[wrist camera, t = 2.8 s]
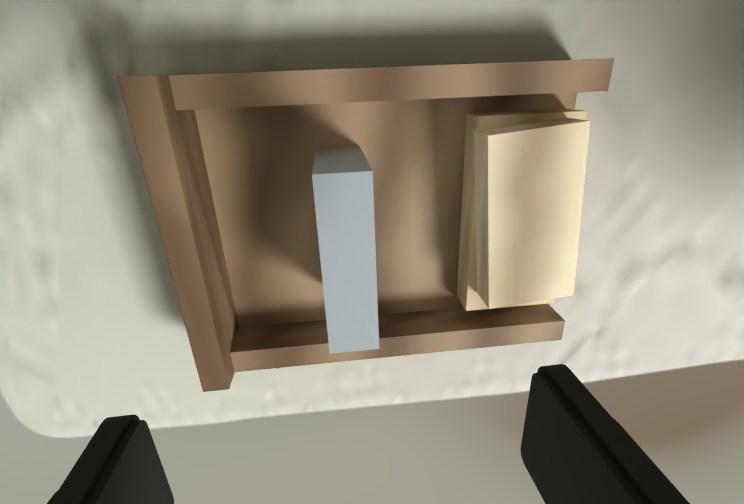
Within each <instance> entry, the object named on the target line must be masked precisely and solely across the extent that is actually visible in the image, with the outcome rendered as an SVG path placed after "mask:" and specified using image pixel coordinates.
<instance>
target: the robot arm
mask: <svg viewBox="0 0 744 504" xmlns="http://www.w3.org/2000/svg"><path fill="white" fill-rule="evenodd" d="M521 455H522V459H523V462H524V464H525V466H526V468H527V470H528V472H529V474H530V476H531V477H532V479H533V481H534V483H535V485H536V486H537V489H538V490H539V492H540V494H541V496H542V498H543V500H544V502H545V503H546V504H690V503H689V502H688V501H687V500H686V499H685V498H684V497H683V496H682V494H681V493H680V492H679V491H678V490H677V489H676V488H675V486H674V485H673V484H672V483H671V482H670V481H669V480H668V479H667V477H666V476H665V475H664V474H663V473H662V472H661V471H660V469H658V467H657V466H656V465H655V464H654V463H653V462H652V460H651V459H650V458H649V457H648V456H647V455H646V454H645V453H644V451H643V450H642V449H641V448H640V447H639V446H638V445H637V443H636V442H635V441H634V440H633V439H632V438H631V437H630V436H629V434H628V433H627V432H626V431H625V430H624V429H623V428H622V426H620V424H619V423H618V422H617V421H616V420H615V419H614V418H612V417H611V416H610V415H609V414H608V412H607V411H606V410H605V409H604V408H603V407H602V406H601V404H600V403H599V402H598V401H597V400H596V399H595V398H594V397H593V396H592V394H591V393H590V392H589V391H588V390H587V389H586V387H585V386H584V385H583V384H582V383H581V382H580V381H579V379H578V378H577V377H576V376H575V375H574V374H573V373H572V371H571V370H570V369H569V368H568V367H567V366H566V365H563V364H559V365H550V366H542V367H540V368H539V369H538V372H537V373H534V374H533V376H532V380H531V386H530V393H529V399H528V405H527V412H526V418H525V425H524V431H523V438H522V444H521ZM47 504H174V499H173V495H172V492H171V489H170V486H169V484H168V481H167V478H166V475H165V472H164V469H163V467H162V464H161V461H160V459H159V456H158V453H157V450H156V447H155V444H154V442H153V439H152V436H151V433H150V430H149V428H148V425H147V423H146V421H144V420H140V419H139V418H138V416H136V415H126V416H118V417H109V418H106V419H105V420H104V421H103V422H102V423H101V425H100V426H99V428H98V429H97V431H96V433H95V434H94V436H93V437H92V439H91V440H90V442H89V443H88V445H87V447H86V448H85V450H84V451H83V453H82V454H81V456H80V458H79V459H78V461H77V462H76V464H75V465H74V467H73V468H72V470H71V472H70V473H69V475H68V476H67V478H66V480H65V481H64V483H63V484H62V486H61V487H60V489H59V490H58V491H57V492H56V493H55V494H54V495H53V496H52V498H51V499H50V500H49V502H48V503H47Z"/></svg>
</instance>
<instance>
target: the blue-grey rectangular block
mask: <svg viewBox="0 0 744 504" xmlns="http://www.w3.org/2000/svg"><path fill="white" fill-rule="evenodd" d="M312 181H313V191H314V201H315V211H316V221H317V231H318V241H319V251H320V261H321V271H322V281H323V292H324V302H325V312H326V322H327V332H328V342H329V352H330V354H332V353H342V352H352V351H363V350H373V349H379V328H378V301H377V274H376V247H375V220H374V193H373V171H372V169H371V167H370V165H369V163H368V161H367V159H366V157H365V155H364V153H363V152H362V150H361V148H360V146H355V147H336V148H318V149H316V153H315V159H314V165H313V171H312Z"/></svg>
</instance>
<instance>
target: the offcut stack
mask: <svg viewBox="0 0 744 504" xmlns="http://www.w3.org/2000/svg"><path fill="white" fill-rule="evenodd" d="M586 114H587V111H583V110H574V109H550V110H530V111H509V112H489V113H468V114H467V119H466V137H465V155H464V173H463V191H462V209H461V227H460V245H459V263H458V281H457V297H458V299H459V300H460V302H461V304H462V305H463V307H464V308H465V310H466V311H470V310H481V309H493V308H503V307H514V306H525V305H536V304H547V303H554V301H555V298H558V297H564V296H570V295H574V284H575V274H576V264H577V253H578V243H579V233H580V222H581V212H582V202H583V191H584V181H585V171H586V160H587V150H588V140H589V129H590V121H588V120H585V119H586Z"/></svg>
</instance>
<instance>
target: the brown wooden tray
mask: <svg viewBox="0 0 744 504" xmlns="http://www.w3.org/2000/svg"><path fill="white" fill-rule="evenodd" d="M613 61H614V58H610V59H583V60H557V61H531V62H505V63H479V64H453V65H427V66H401V67H375V68H349V69H323V70H296V71H270V72H244V73H218V74H192V75H136V76H118V79H119V82H120V86H121V90H122V93H123V97H124V101H125V105H126V108H127V112H128V116H129V119H130V123H131V127H132V130H133V134H134V138H135V142H136V145H137V149H138V153H139V156H140V160H141V164H142V167H143V171H144V175H145V179H146V182H147V186H148V190H149V193H150V197H151V201H152V204H153V208H154V212H155V216H156V219H157V223H158V227H159V230H160V234H161V238H162V241H163V245H164V249H165V253H166V256H167V260H168V264H169V267H170V271H171V275H172V278H173V282H174V286H175V290H176V293H177V297H178V301H179V304H180V308H181V312H182V315H183V319H184V323H185V327H186V330H187V334H188V338H189V341H190V345H191V349H192V352H193V356H194V360H195V364H196V367H197V371H198V375H199V378H200V382H201V386H202V390H203V392H206V391H216V390H225V389H229V388H230V385H231V382H232V379H233V375H234V372H241V371H251V370H261V369H271V368H281V367H291V366H301V365H311V364H321V363H331V362H341V361H352V360H362V359H372V358H382V357H392V356H402V355H412V354H422V353H432V352H442V351H452V350H463V349H473V348H483V347H493V346H503V345H513V344H523V343H533V342H543V341H553V340H561V339H562V334H563V328H564V323H565V320H564V319H563V318H562V317H561V316H560V315H559V314H558V313H557V312H556V311H555V310H554V309H553V308H552V307H551V306H550V305H549V304H548V303H547V304H536V305H525V306H514V307H503V308H493V309H481V310H470V311H466V310H465V308H464V307H463V305H462V304H461V302H460V300H459V299H458V297H457V281H458V263H459V245H460V227H461V209H462V191H463V173H464V155H465V137H466V119H467V114H468V113H489V112H509V111H530V110H550V109H574V108H575V102H576V95H577V92H591V91H608V88H609V82H610V77H611V72H612V66H613ZM355 146H360V148H361V150H362V152H363V153H364V155H365V157H366V159H367V161H368V163H369V165H370V167H371V169H372V171H373V193H374V220H375V247H376V274H377V301H378V328H379V349H373V350H363V351H352V352H342V353H332V354H330V352H329V342H328V332H327V322H326V312H325V302H324V292H323V281H322V271H321V261H320V251H319V241H318V231H317V221H316V211H315V201H314V191H313V181H312V171H313V165H314V159H315V153H316V149H318V148H336V147H355Z"/></svg>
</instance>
